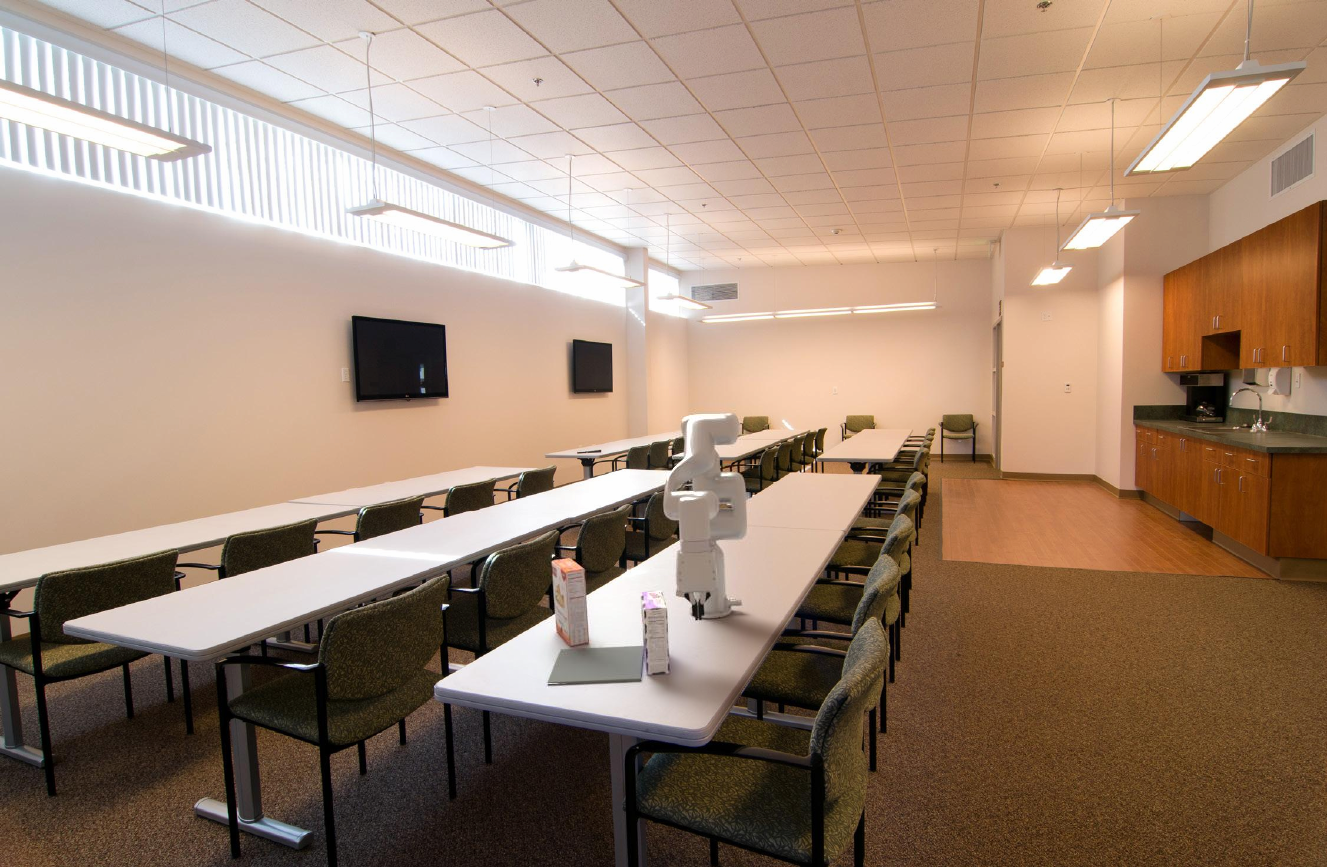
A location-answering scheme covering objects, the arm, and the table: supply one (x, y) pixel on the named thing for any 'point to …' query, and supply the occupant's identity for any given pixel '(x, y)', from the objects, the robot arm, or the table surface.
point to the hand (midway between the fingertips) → (698, 618)
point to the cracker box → (570, 601)
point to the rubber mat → (598, 665)
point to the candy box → (655, 632)
